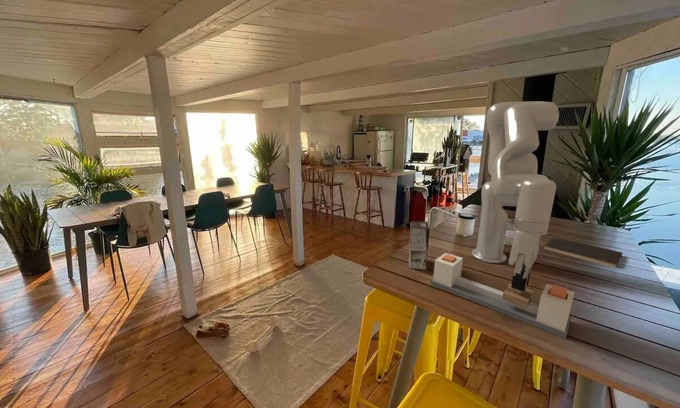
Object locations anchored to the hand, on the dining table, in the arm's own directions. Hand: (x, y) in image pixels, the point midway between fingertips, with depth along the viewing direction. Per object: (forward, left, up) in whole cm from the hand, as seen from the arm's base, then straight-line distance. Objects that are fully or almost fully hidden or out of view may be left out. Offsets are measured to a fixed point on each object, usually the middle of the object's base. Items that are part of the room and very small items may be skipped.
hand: (519, 285), depth 78 cm
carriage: (0, 0, -4) cm, 4 cm away
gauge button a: (0, -20, -2) cm, 21 cm away
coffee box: (-6, -35, -8) cm, 36 cm away
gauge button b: (0, +8, -1) cm, 9 cm away
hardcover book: (-64, +10, -9) cm, 65 cm away
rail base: (0, -6, -8) cm, 10 cm away
